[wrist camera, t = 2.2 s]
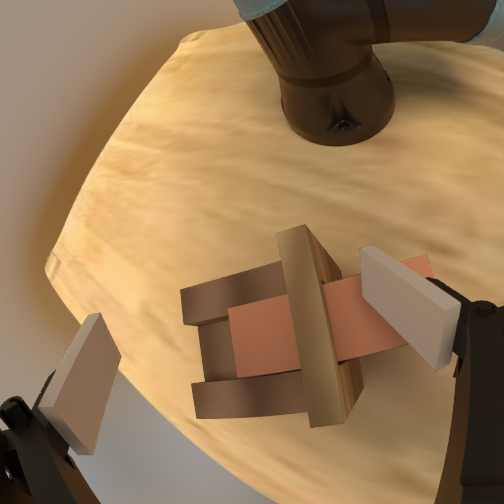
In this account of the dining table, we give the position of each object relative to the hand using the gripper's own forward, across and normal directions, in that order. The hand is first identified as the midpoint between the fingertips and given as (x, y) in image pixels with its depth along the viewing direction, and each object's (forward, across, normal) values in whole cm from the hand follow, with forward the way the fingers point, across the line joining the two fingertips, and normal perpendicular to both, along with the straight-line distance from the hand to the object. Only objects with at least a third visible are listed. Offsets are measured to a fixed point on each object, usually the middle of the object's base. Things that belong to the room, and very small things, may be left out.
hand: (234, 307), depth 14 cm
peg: (+6, +8, -8) cm, 13 cm away
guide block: (+13, +4, -13) cm, 19 cm away
